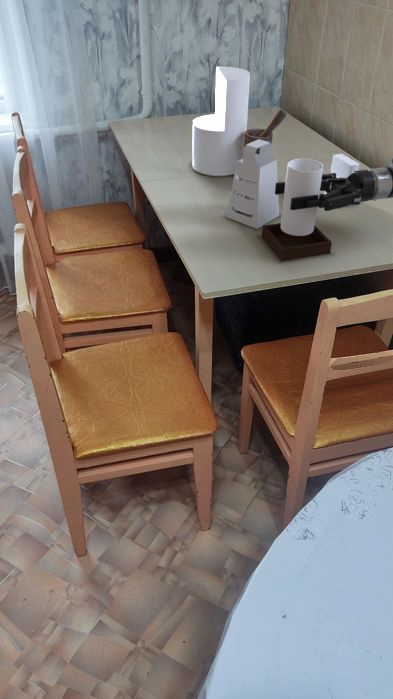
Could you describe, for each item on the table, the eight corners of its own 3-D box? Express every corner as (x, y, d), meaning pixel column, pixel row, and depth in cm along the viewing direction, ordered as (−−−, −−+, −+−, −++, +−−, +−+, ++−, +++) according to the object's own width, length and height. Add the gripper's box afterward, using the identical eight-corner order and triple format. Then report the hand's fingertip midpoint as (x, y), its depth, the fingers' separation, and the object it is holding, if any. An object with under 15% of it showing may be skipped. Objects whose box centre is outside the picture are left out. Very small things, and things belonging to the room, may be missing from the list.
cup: (277, 221, 138) (283, 159, 128) (308, 219, 139) (317, 157, 129) (284, 236, 132) (292, 172, 122) (317, 235, 133) (328, 171, 122)
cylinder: (238, 155, 187) (243, 65, 169) (249, 174, 174) (255, 79, 156) (189, 157, 185) (188, 67, 167) (195, 177, 172) (196, 81, 154)
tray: (306, 230, 145) (308, 218, 142) (329, 253, 135) (332, 242, 133) (261, 236, 142) (262, 225, 140) (281, 261, 132) (282, 249, 130)
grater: (226, 217, 150) (229, 144, 138) (248, 204, 157) (253, 133, 144) (256, 228, 145) (262, 154, 132) (279, 215, 151) (286, 143, 138)
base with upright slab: (360, 203, 158) (369, 162, 150) (334, 208, 155) (341, 167, 147) (342, 191, 164) (350, 152, 156) (317, 196, 161) (323, 156, 154)
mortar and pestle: (272, 167, 179) (278, 103, 166) (282, 177, 172) (289, 111, 159) (238, 170, 176) (242, 106, 163) (247, 181, 170) (252, 114, 157)
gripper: (388, 217, 128) (300, 230, 123) (344, 183, 144) (265, 193, 139) (395, 187, 123) (305, 199, 118) (349, 155, 139) (267, 164, 134)
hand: (283, 196), depth 128 cm, fingers closed on cup, 8 cm apart
